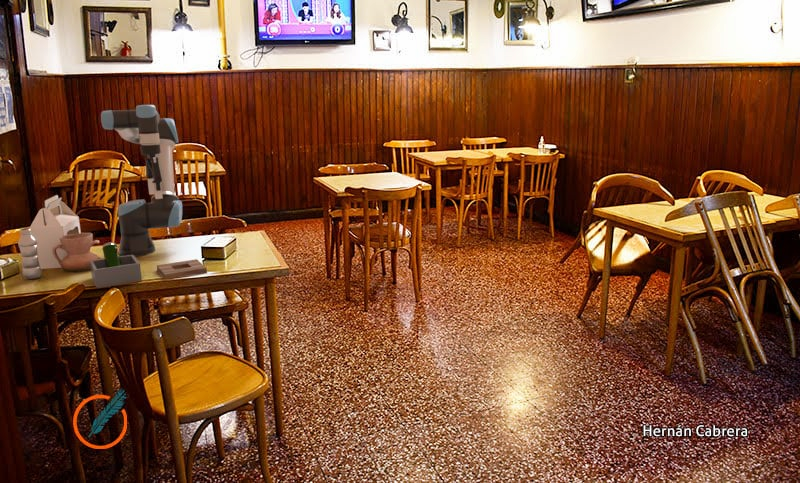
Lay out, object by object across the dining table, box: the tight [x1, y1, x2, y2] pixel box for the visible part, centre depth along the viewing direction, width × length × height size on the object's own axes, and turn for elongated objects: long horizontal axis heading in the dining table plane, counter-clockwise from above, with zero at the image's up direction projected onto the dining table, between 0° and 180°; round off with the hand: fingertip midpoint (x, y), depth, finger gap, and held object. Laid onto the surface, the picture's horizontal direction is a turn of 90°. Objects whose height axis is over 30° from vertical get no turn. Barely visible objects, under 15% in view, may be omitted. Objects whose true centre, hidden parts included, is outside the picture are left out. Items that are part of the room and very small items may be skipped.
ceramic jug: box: [52, 232, 102, 272], centre depth 272 cm, size 18×14×14 cm
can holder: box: [156, 258, 208, 280], centre depth 265 cm, size 16×16×2 cm
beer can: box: [102, 241, 121, 268], centre depth 258 cm, size 5×5×12 cm
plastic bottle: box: [17, 227, 43, 280], centre depth 258 cm, size 6×7×20 cm
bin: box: [90, 255, 143, 289], centre depth 256 cm, size 16×16×7 cm
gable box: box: [29, 194, 82, 270], centre depth 282 cm, size 22×13×28 cm, turn 10°
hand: (155, 196), depth 270 cm, fingers open, 13 cm apart
